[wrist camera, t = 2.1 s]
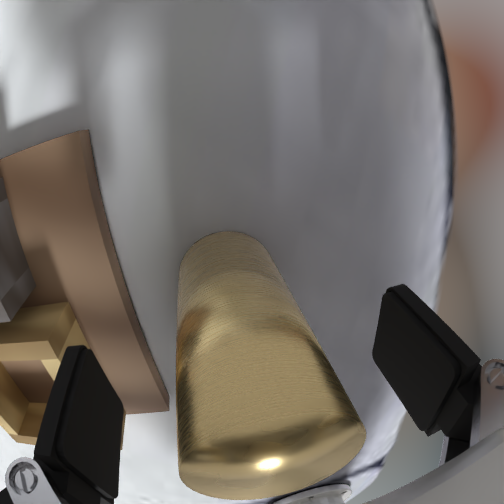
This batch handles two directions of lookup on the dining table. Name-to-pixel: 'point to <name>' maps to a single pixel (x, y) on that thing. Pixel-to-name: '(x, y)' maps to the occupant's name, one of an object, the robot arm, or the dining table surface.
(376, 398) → the dining table surface
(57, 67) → the dining table surface
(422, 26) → the dining table surface
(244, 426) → the beige cylinder
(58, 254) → the board
